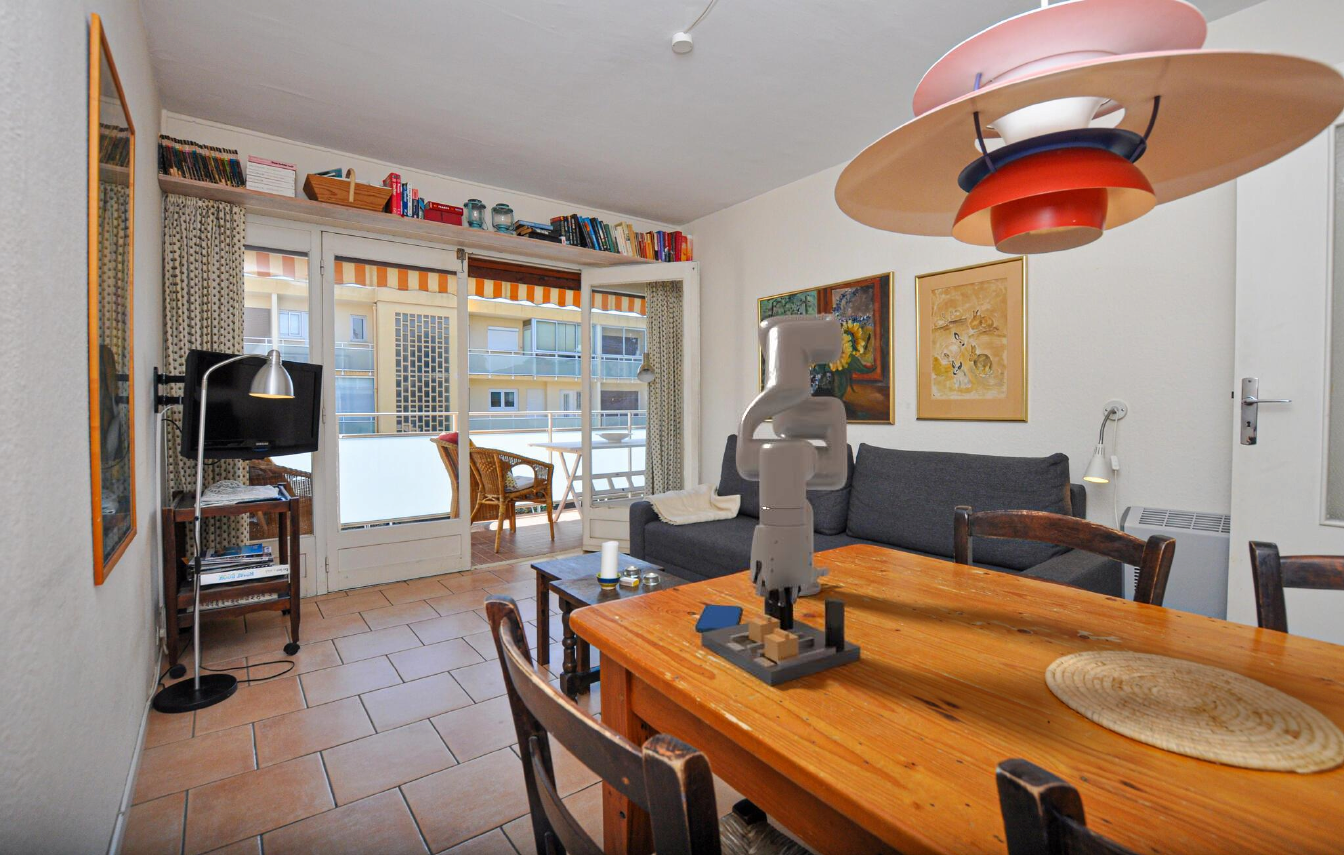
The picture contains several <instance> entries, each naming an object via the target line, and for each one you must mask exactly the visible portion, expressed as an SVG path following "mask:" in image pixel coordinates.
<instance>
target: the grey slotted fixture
mask: <svg viewBox="0 0 1344 855" xmlns="http://www.w3.org/2000/svg"><path fill="white" fill-rule="evenodd" d="M776 593H777V591H776ZM763 598H764V606H763V607H764V612H763V613H764V614H766V615H769V616H771V617H773V603H771V602H770V601H769V599H768V598H767V597H763ZM845 607H846V606H845V600H843V599H840V598H827V599H825V600H824V630H821V629H820V628H816V627H814V626H812V625H811V624H810V625H809V624H807V623H805V622H802V621H801V620H799V619H795V618H793V629H790V630H789V629H788V630H786V632H789V633H791V634H793V635H795V636H797V637H798V655H797V656H794V657H790V658H786V659H783V660H779V661H777V662H776V661H774V660H772V659H770V658H768V657H766V656H765V641H763V642H759V643H758V642H756V641H754V640H752V639H750V638H749V622H744V623H741V624H738V625H736V626H731V627H727V628H722V629H718V630H713V631H709V632H701V646H703V647H704V648H706V649H707V650H709V651H711V652H713V653H715V654H716V655H717V656H720V657H721V658H723V659H725V660H726V661H728V662H730V663H731V664H733V665H735V666H736V667H738V668H740V669H741V670H743V671H745V672H746V673H748V674H750V675H752V676H753V677H755V678H757V679H758V680H760V681H761V682H764V683H765V684H767V685H768V686H770V687H774V686H777V685H780V684H783V683H785V682H786V683H787V682H790V681H794V680H797V679H801V678H803V677H807V676H809V675H813V674H816V673H819V672H822V671H826V670H830V669H834V668H837V667H840V666H843V665H846V664H850V663H853V662H856V661H860V660H861V646H860V645H858V644H854V643H853V642H850V641H848V640H845V636H846V634H845V630H846V628H845V627H846V626H845V616H846V615H845V609H846V608H845ZM781 630H782V629H781ZM783 631H784V630H783Z"/></svg>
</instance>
